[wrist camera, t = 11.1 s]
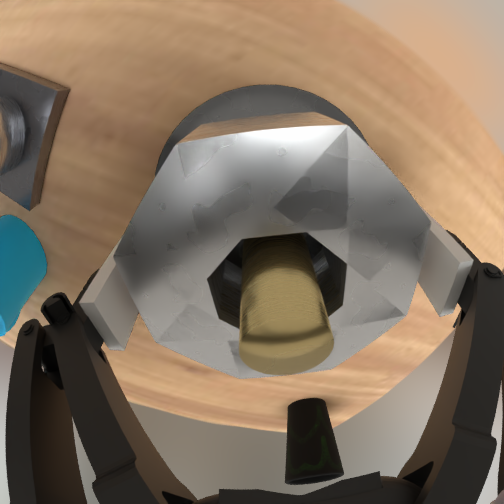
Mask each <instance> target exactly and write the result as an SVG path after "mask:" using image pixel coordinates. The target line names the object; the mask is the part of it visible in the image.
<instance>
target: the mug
mask: <svg viewBox="0 0 504 504" xmlns="http://www.w3.org/2000/svg"><path fill="white" fill-rule="evenodd" d="M46 271H47V262H46V256H45V253H44V250H43V248H42V246H41V243H40V241H39V240H38V238H37V237H36V235H35V234H34V232H33V231H32V230H31V229H30V228H29V226H28V225H27V224H26V223H25V222H23V221H22V220H20V219H19V218H17V217H15V216H12V215H5V216H2V217H0V336H3V335H5V334H6V332H8V331H9V330H11V328H12V327H13V326H14V325H15V323H16V321H17V319H18V317H19V314H20V311H21V309H22V307H23V306H24V304H25V303H26V301H27V300H28V299H29V297H30V296H31V294H32V293H33V292H34V290H35V289H36V288H37V286H38V285H39V283H40V282H41V281H42V280H43V278H44V276H45V275H46Z"/></svg>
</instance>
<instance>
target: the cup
mask: <svg viewBox="0 0 504 504" xmlns="http://www.w3.org/2000/svg"><path fill="white" fill-rule="evenodd" d="M343 475H344V471H343V468H342V463H341V460H340V456H339V452H338V449H337V444H336V440H335V437H334V433H333V429H332V425H331V422H330V418H329V414H328V411H327V407H326V403H325V401H324V400H322V399H318V398H309V399H302V400H299V401H296V402H294V403H292V404H290V405H289V406H288V420H287V451H286V472H285V483H286V484H290V485H300V484H311V483H318V482H323V481H328V480H332V479H335V478H338V477H341V476H343Z"/></svg>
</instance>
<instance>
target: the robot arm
mask: <svg viewBox="0 0 504 504" xmlns="http://www.w3.org/2000/svg"><path fill="white" fill-rule="evenodd" d="M421 209H422V210H423V211H424V213H425V214H426V215H427V217H428V218H429V219H430V221H431V227H430V232H429V237H428V241H427V246H426V250H425V254H424V258H423V262H422V266H421V270H420V274H419V277H418V283H419V284H420V286H421V287H422V289H423V291H424V292H425V294H426V295H427V297H428V298H429V300H430V302H431V303H432V305H433V307H434V308H435V310H436V312H437V313H438V315H439V317H441V316H445V315H448V314H452V313H453V312H454V309H455V307H456V305H457V303H458V304H459V305H460V307H461V308H462V309H461V311H460V313H459V315H458V317H457V319H456V321H455V323H454V325H453V327H454V328H455V326H456V325H457V326H456V331H455V336H454V340H453V344H452V349H451V352H450V356H449V360H448V364H447V367H446V371H445V374H444V378H443V381H442V384H441V387H440V390H439V393H438V396H437V399H436V402H435V404H434V408H433V410H432V412H431V415H430V417H429V420H428V422H427V425H426V428H425V430H424V432H423V434H422V436H421V439H420V441H419V443H418V445H417V448H416V449H415V452H414V453H413V455H412V456H411V458H410V459H409V460H408V461H407V463H406V464H405V465H404V467H403V468H402V470H401V471H400V473H399V475H398V476H397V478H396V477H389V476H380V471H378V472H374V473H371V474H367V475H363V476H359V477H354V478H350V479H345V480H341V481H339V482H336V483H334V484H332V485H329V486H327V487H324V488H321V489H319V490H316V491H314V492H311V493H308V494H305V495H291V494H283V493H276V492H270V491H264V490H259V489H255V490H233V489H232V490H231V489H219V494H216V495H212V496H208V497H205V498H203V499H200V500H197V499H196V497H195V496H194V495H193V494H192V493H191V492H190V491H189V490H188V489H187V488H186V487H185V486H184V485H183V484H182V483H181V482H180V481H179V480H178V479H177V478H176V477H175V476H174V474H173V473H172V472H171V470H170V469H169V468H168V466H167V465H166V463H165V462H164V460H163V459H162V458H161V456H160V455H159V453H158V452H157V450H156V448H155V447H154V445H153V444H152V442H151V441H150V439H149V437H148V436H147V434H146V433H145V431H144V429H143V428H142V426H141V424H140V423H139V421H138V419H137V417H136V416H135V414H134V412H133V410H132V408H131V407H130V405H129V403H128V401H127V399H126V397H125V395H124V393H123V391H122V389H121V387H120V385H119V383H118V381H117V379H116V377H115V375H114V373H113V371H112V369H111V366H110V364H109V362H108V360H107V357H106V355H105V353H104V351H103V350H102V349H101V346H102V344H103V341H104V342H105V344H106V345H107V346H108V348H109V349H110V350H123V351H124V350H125V348H126V345H127V342H128V339H129V337H130V334H131V331H132V328H133V326H134V323H135V321H136V318H137V315H138V313H139V311H138V309H137V307H136V305H135V303H134V301H133V299H132V297H131V295H130V293H129V291H128V289H127V287H126V285H125V283H124V280H123V278H122V276H121V274H120V272H119V270H118V267H117V265H116V263H115V261H114V258H113V255H114V253H115V251H116V249H117V247H118V245H119V243H120V241H121V239H122V237H123V236H122V237H121V239H120V240H119V241H118V243H117V244H116V246H115V247H114V249H113V250H112V252H111V253H110V254H109V256H108V257H107V259H106V260H105V262H104V263H103V265H102V266H101V268H100V269H98V270H97V271H96V272H95V273H93V274H92V275H91V277H90V278H89V280H88V281H87V284H85V286H84V288H83V290H82V291H81V292H80V294H79V296H78V297H77V299H76V301H75V302H74V304H73V306H72V304H71V303H70V301H69V300H68V298H67V296H66V295H65V293H62V292H60V293H56V294H54V295H52V296H50V297H49V298H48V299H47V300H46V301H45V302H44V303H43V305H42V307H41V312H42V313H43V315H44V316H45V318H46V319H47V321H48V322H49V324H50V325H47V326H43V327H42V326H41V324H40V323H39V321H38V320H37V319H31V320H29V321H27V322H25V323H24V324H23V325H22V327H21V329H20V331H19V333H18V337H17V342H16V347H15V351H14V357H13V362H12V368H11V375H10V383H9V391H8V400H7V412H6V466H7V479H8V488H9V496H10V504H87V500H86V497H85V493H84V489H83V484H82V480H81V475H80V470H79V465H78V459H77V454H76V447H75V440H74V432H73V422H72V417H73V420H74V423H75V425H76V428H77V431H78V434H79V437H80V439H81V442H82V444H83V447H84V449H85V452H86V454H87V456H88V459H89V461H90V463H91V466H92V467H93V470H94V472H95V475H96V480H95V481H94V482H93V483H92V488H93V491H94V493H95V495H96V498H97V500H98V502H99V503H100V504H476V503H477V501H478V498H479V496H480V494H481V491H482V489H483V486H484V484H485V481H486V478H487V476H488V473H489V470H490V467H491V464H492V461H493V457H494V454H495V451H496V446H497V442H496V439H495V438H494V437H492V436H491V430H492V426H493V422H494V417H495V413H496V408H497V403H498V398H499V392H500V385H501V380H502V398H503V399H502V401H503V421H502V422H503V423H502V442H501V453H500V462H499V472H498V497H497V498H496V500H494V501H492V502H491V503H490V504H504V275H503V273H502V272H501V270H500V269H499V268H498V267H496V266H495V265H493V264H491V263H481V262H480V261H479V260H478V258H477V257H476V256H475V255H474V254H473V253H472V252H471V251H470V250H469V249H468V248H466V246H465V244H464V243H462V241H461V240H460V239H459V238H458V237H457V236H456V235H454V234H453V233H451V232H449V231H448V230H445V229H444V228H443V227H442V226H441V225H440V224H439V223H438V222H436V221H435V220H434V219H433V218H432V217H431V216H430V215H429V214H428V213H427V212H426V211H425V210H424V209H423V208H422V207H421ZM123 235H124V234H123ZM42 366H43V368H44V372H43V369H42Z"/></svg>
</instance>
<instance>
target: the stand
mask: <svg viewBox="0 0 504 504" xmlns="http://www.w3.org/2000/svg"><path fill="white" fill-rule="evenodd" d="M69 90H70V89H68V88H66V87H63V86H61V85H58V84H56V83H53V82H51V81H48V80H46V79H43V78H41V77H38V76H35V75H33V74H30V73H27V72H25V71H22V70H19V69H16V68H13V67H11V66H8V65H5V64H2V63H0V192H2V193H3V194H5V195H6V196H8V197H9V198H11V199H12V200H14V201H15V202H17V203H18V204H20V205H21V206H23V207H24V208H26V209H27V210H29V211H30V210H31V209H33V208H34V207H35V206H36V205H38V204H39V203H40V197H41V191H42V185H43V180H44V175H45V170H46V166H47V161H48V157H49V153H50V149H51V145H52V142H53V138H54V134H55V131H56V128H57V125H58V121H59V118H60V115H61V112H62V109H63V106H64V104H65V101H66V98H67V95H68V93H69Z"/></svg>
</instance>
